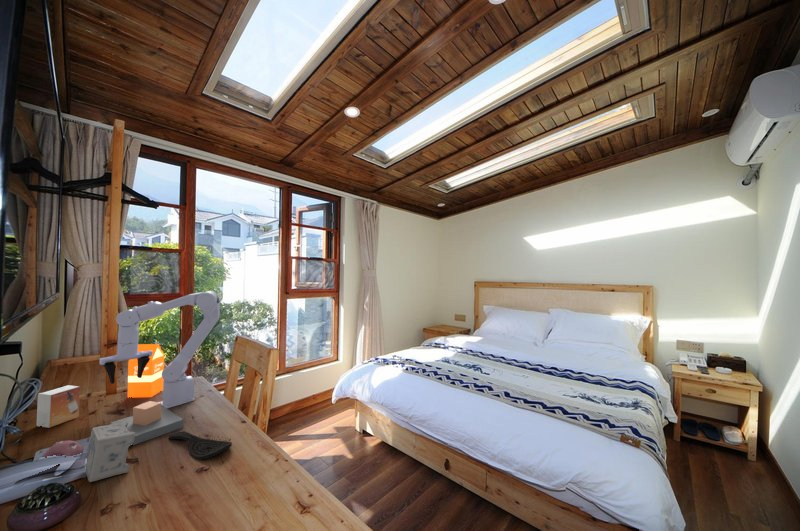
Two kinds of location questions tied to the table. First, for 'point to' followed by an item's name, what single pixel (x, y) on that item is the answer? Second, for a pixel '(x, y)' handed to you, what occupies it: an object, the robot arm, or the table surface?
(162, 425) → the plinth
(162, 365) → the orange juice
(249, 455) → the table surface
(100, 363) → the robot arm
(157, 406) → the terracotta block
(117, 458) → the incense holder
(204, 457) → the hairbrush
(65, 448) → the pink rounded lump
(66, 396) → the small box
